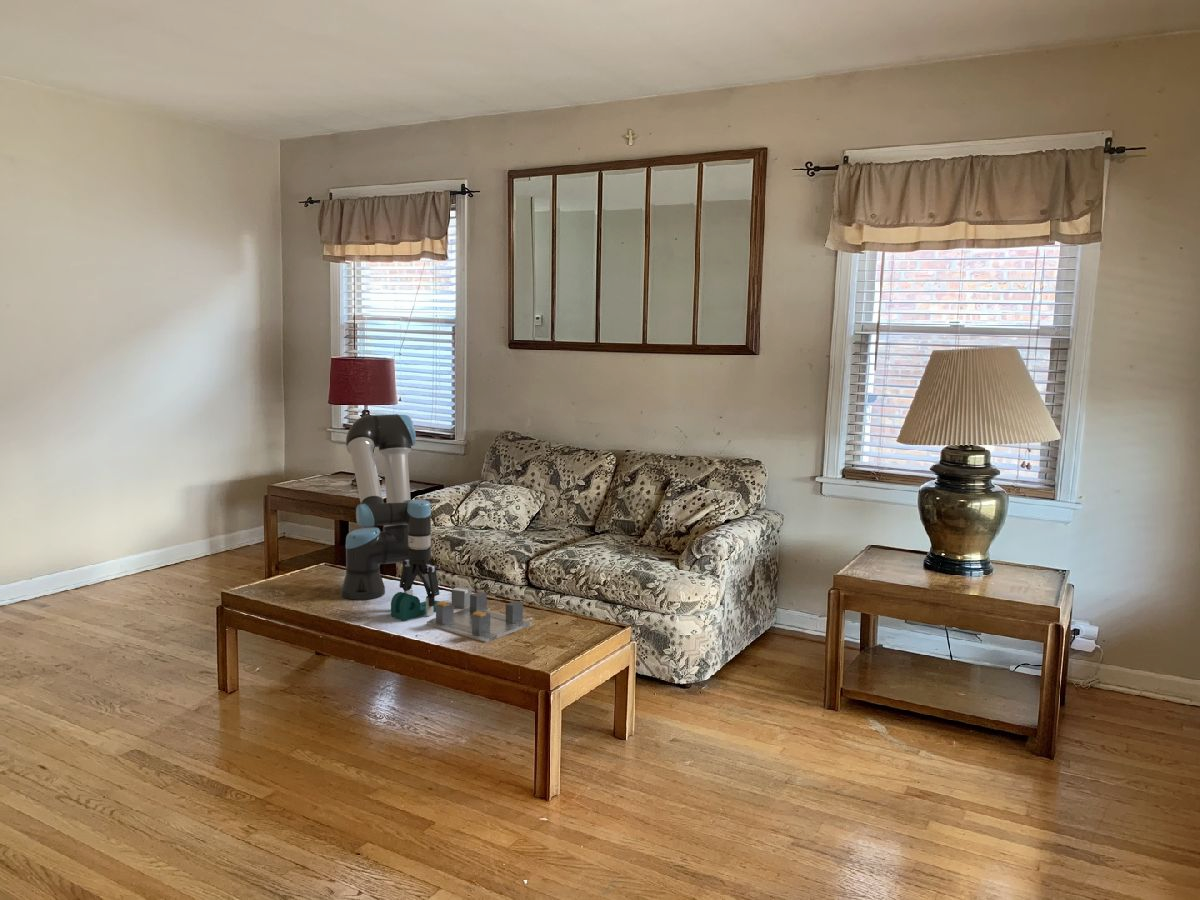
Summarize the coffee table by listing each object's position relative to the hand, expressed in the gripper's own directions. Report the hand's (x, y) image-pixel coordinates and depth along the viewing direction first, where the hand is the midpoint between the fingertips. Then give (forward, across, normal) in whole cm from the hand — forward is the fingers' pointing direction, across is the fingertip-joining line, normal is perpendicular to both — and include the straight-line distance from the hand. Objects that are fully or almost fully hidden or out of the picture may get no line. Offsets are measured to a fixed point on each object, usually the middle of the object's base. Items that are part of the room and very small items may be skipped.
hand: (419, 612), depth 307 cm
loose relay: (0, +5, +15) cm, 16 cm away
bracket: (+1, 0, 0) cm, 1 cm away
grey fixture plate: (0, +24, +4) cm, 24 cm away
